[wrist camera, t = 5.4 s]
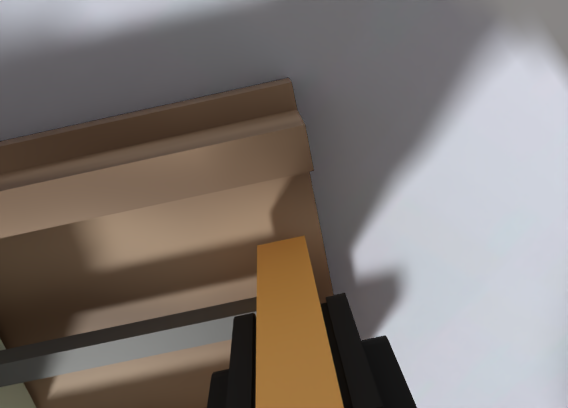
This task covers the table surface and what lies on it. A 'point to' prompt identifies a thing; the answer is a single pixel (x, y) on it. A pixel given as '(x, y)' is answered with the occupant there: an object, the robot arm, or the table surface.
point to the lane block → (209, 339)
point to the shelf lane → (150, 233)
